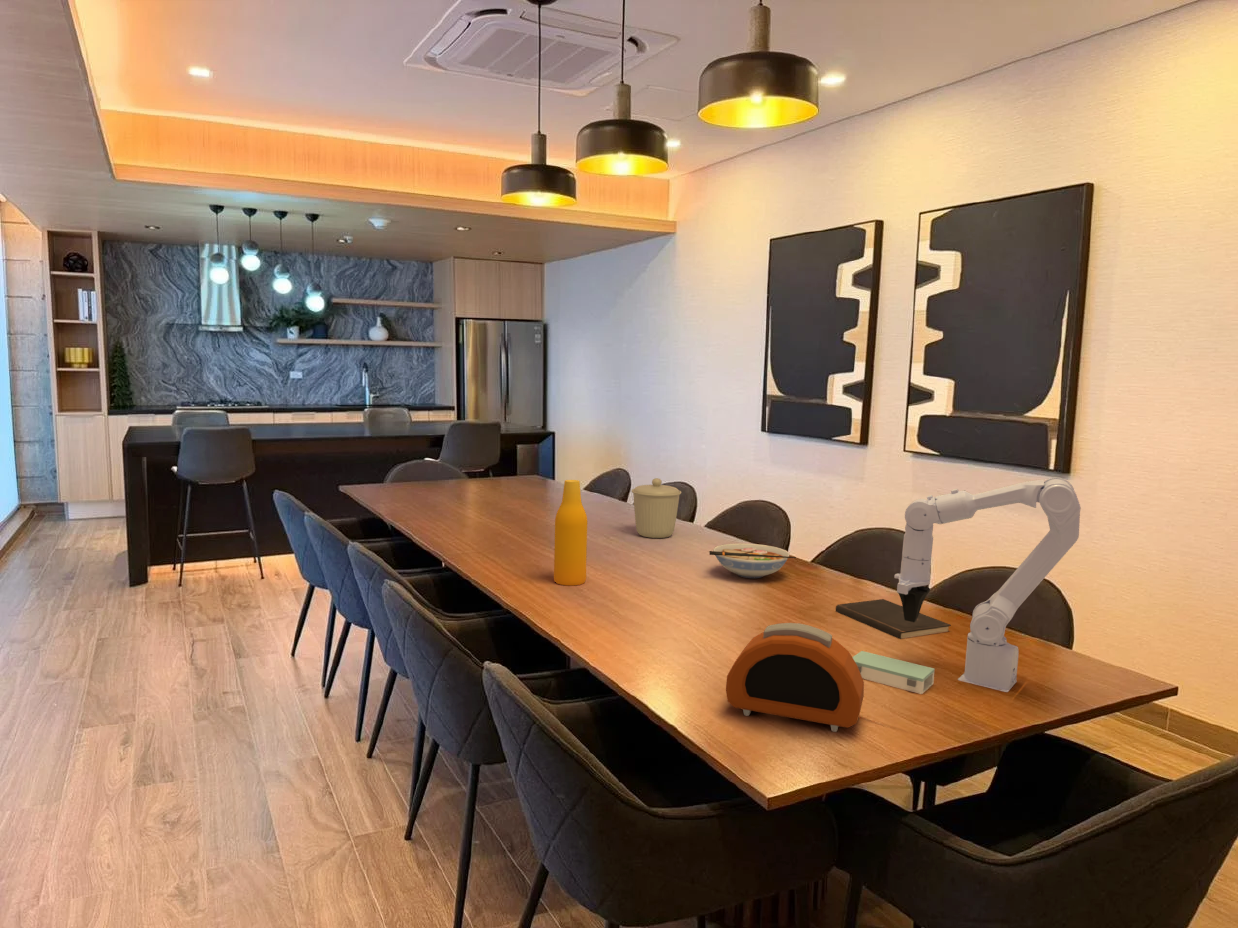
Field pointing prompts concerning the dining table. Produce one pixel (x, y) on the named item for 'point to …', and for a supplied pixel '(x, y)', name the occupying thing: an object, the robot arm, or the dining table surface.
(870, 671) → the cream piece
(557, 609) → the dining table surface
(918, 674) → the panel
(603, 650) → the dining table surface
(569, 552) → the beer bottle
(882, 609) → the hardcover book
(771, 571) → the ramen bowl
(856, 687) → the alarm clock
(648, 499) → the canister
